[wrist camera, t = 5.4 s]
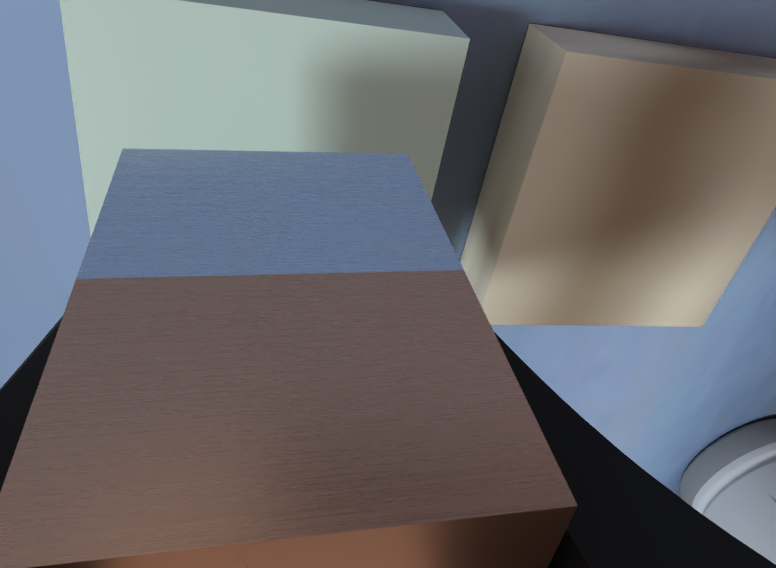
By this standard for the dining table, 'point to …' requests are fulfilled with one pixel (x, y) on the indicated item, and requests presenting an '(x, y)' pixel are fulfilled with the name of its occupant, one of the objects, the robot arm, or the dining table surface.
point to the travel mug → (738, 485)
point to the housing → (277, 383)
